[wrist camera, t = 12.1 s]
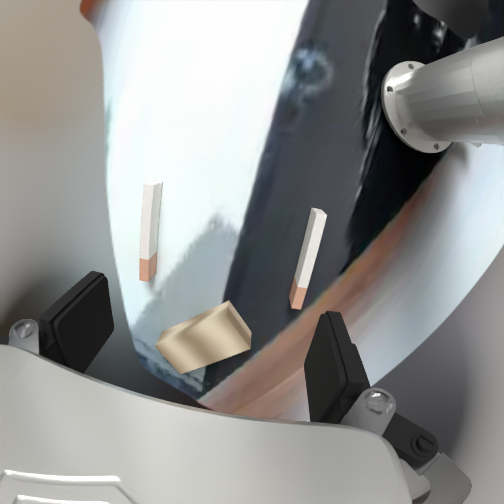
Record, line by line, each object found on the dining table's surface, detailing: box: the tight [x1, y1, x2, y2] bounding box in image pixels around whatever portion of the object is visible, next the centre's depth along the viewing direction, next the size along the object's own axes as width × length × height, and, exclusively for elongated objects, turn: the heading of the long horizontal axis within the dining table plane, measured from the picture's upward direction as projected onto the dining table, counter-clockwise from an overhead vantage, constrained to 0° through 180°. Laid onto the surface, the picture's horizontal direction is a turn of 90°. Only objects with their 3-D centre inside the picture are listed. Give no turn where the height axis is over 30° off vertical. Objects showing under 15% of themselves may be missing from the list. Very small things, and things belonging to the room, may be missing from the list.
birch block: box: [155, 301, 251, 374], centre depth 37 cm, size 12×6×4 cm, turn 120°
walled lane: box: [140, 181, 327, 309], centre depth 32 cm, size 20×12×3 cm, turn 80°
